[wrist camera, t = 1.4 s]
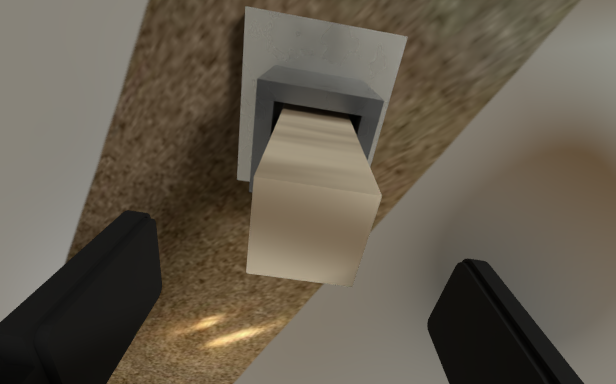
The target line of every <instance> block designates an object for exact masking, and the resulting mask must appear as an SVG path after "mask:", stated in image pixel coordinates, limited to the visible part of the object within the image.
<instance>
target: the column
mask: <svg viewBox="0 0 616 384" xmlns="http://www.w3.org/2000/svg"><path fill="white" fill-rule="evenodd" d="M381 197H382V195H381V193H380V190H379V188H378V185H377V183H376V181H375V178H374V176H373V174H372V171H371V169H370V166H369V164H368V162H367V159H366V157H365V154H364V152H363V150H362V147H361V145H360V143H359V140H358V138H357V135H356V133H355V131H354V128H353V126H352V123H351V121H350V119H349V116H348V114H347V113H343V112H337V111H331V110H325V109H319V108H313V107H307V106H301V105H295V104H290V103H285V105H284V107H283V110H282V112H281V114H280V117H279V119H278V121H277V124H276V126H275V128H274V131H273V133H272V135H271V138H270V140H269V142H268V145H267V147H266V149H265V152H264V154H263V156H262V159H261V161H260V163H259V166H258V168H257V170H256V173H255V175H254V182H253V194H252V207H251V219H250V232H249V244H248V257H247V270H246V273H250V274H258V275H265V276H273V277H280V278H288V279H295V280H303V281H310V282H318V283H325V284H333V285H341V286H348V287H352V286H353V283H354V279H355V277H356V274H357V271H358V268H359V264H360V261H361V258H362V255H363V252H364V249H365V246H366V243H367V240H368V237H369V234H370V231H371V228H372V225H373V222H374V219H375V216H376V213H377V210H378V207H379V204H380V200H381Z"/></svg>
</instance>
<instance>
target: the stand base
mask: <svg viewBox="0 0 616 384" xmlns="http://www.w3.org/2000/svg"><path fill="white" fill-rule="evenodd" d="M406 41H407V37H406V36H401V35H396V34H390V33H385V32H380V31H375V30H369V29H364V28H359V27H353V26H348V25H343V24H337V23H332V22H327V21H321V20H316V19H311V18H305V17H300V16H295V15H289V14H284V13H279V12H273V11H268V10H263V9H257V8H252V7H247V6H246V7H245V27H244V48H243V68H242V89H241V109H240V130H239V150H238V171H237V180H242V181H249V182H250V184H249V192H252V193H253V182H254V175H255V173H256V170H257V168H258V166H259V163H260V161H261V159H262V156H263V154H264V152H265V149H266V147H267V145H268V142H269V140H270V138H271V135H272V133H273V131H274V128H275V126H276V124H277V121H278V119H279V117H280V114H281V112H282V110H283V107H284V105H285V103H290V104H295V105H301V106H307V107H313V108H319V109H325V110H331V111H337V112H343V113H347V114H348V116H349V119H350V121H351V123H352V126H353V128H354V131H355V133H356V135H357V138H358V140H359V143H360V145H361V147H362V150H363V152H364V154H365V157H366V159H367V162H368V164H369V166H371V162H372V159H373V155H374V152H375V148H376V145H377V141H378V138H379V134H380V131H381V127H382V124H383V121H384V117H385V114H386V110H387V107H388V103H389V100H390V96H391V93H392V89H393V86H394V82H395V79H396V76H397V72H398V69H399V65H400V62H401V58H402V55H403V51H404V48H405V44H406Z"/></svg>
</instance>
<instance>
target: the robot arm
mask: <svg viewBox="0 0 616 384" xmlns="http://www.w3.org/2000/svg"><path fill="white" fill-rule="evenodd" d="M161 289H162V281H161V270H160V260H159V249H158V239H157V229H156V221H155V220H154V219H151V218H150V215H149V214H148V213H143V212H136V211H129V210H128V211H125V212H123V213H122V214H121V215H120V216H119V217H118V218H116V219H115V220H114V221H113V222H112V223H111V224H110V225H109V226H107V227H106V228H105V229H104V230H103V231H102V232H101V233H100V234H99V235H97V236H96V237H95V238H94V239H93V240H92V241H91V242H90V243H88V244H87V245H86V246H85V247H84V248H83V249H82V250H81V251H79V252H78V253H77V254H76V255H75V256H74V257H73V258H72V259H71V260H69V261H68V262H67V263H66V264H65V265H64V266H63V267H62V268H60V269H59V270H58V271H57V272H56V273H55V274H54V275H53V276H52V277H51V278H49V279H48V280H47V281H46V282H45V283H44V284H43V285H42V286H40V287H39V288H38V289H37V290H36V291H35V292H34V293H33V294H31V295H30V296H29V297H28V298H27V299H26V300H25V301H24V302H22V303H21V304H20V305H19V306H18V307H17V308H16V309H15V310H14V311H12V312H11V313H10V314H9V315H8V316H7V317H6V318H5V319H3V320H2V321H1V322H0V384H106V383H107V382H108V380H109V378H110V377H111V375H112V373H113V372H114V370H115V368H116V367H117V365H118V364H119V362H120V360H121V359H122V357H123V355H124V354H125V352H126V350H127V349H128V347H129V345H130V344H131V342H132V340H133V339H134V337H135V336H136V334H137V332H138V331H139V329H140V327H141V326H142V324H143V322H144V321H145V319H146V317H147V316H148V314H149V312H150V311H151V309H152V307H153V306H154V304H155V303H156V301H157V299H158V297H159V296H160V293H161ZM428 331H429V334H430V336H431V339H432V341H433V344H434V346H435V349H436V351H437V354H438V356H439V359H440V361H441V364H442V366H443V369H444V371H445V374H446V376H447V379H448V381H449V384H584V383H583V382H582V380H581V379H580V378H579V377H578V375H577V374H576V373H575V372H574V370H573V369H572V368H571V367H570V366H569V364H568V363H567V362H566V360H565V359H564V358H563V357H562V355H561V354H560V353H559V351H558V350H557V349H556V348H555V347H554V345H553V344H552V343H551V341H550V340H549V339H548V338H547V336H546V335H545V334H544V333H543V331H542V330H541V329H540V328H539V326H538V325H537V324H536V323H535V321H534V320H533V319H532V318H531V316H530V315H529V314H528V312H527V311H526V310H525V309H524V307H523V306H522V305H521V304H520V302H519V301H518V300H517V299H516V297H514V295H513V294H512V292H511V291H510V290H509V289H508V287H507V286H506V285H505V284H504V282H503V281H502V280H501V279H500V277H499V276H498V275H497V274H496V272H495V271H494V270H493V268H492V267H491V266H490V265H489V264H488V263H487V262H485V261H480V260H474V259H464V260H463V261H462V262H460V263H458V264H457V265H456V267H455V269H454V271H453V273H452V275H451V276H450V278H449V280H448V282H447V284H446V286H445V288H444V290H443V292H442V294H441V296H440V298H439V300H438V302H437V303H436V305H435V307H434V309H433V311H432V313H431V315H430V317H429V319H428Z"/></svg>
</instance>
